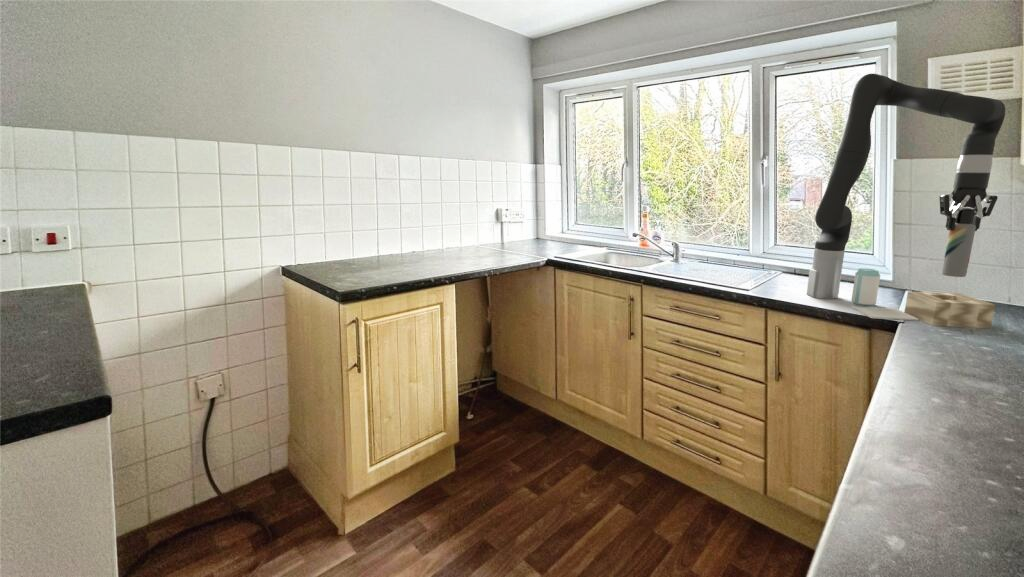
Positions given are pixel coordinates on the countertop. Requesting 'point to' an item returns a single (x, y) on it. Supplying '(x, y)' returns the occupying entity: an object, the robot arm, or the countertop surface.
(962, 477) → the countertop surface
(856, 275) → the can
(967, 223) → the lotion bottle
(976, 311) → the pocket holder
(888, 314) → the grey mat
